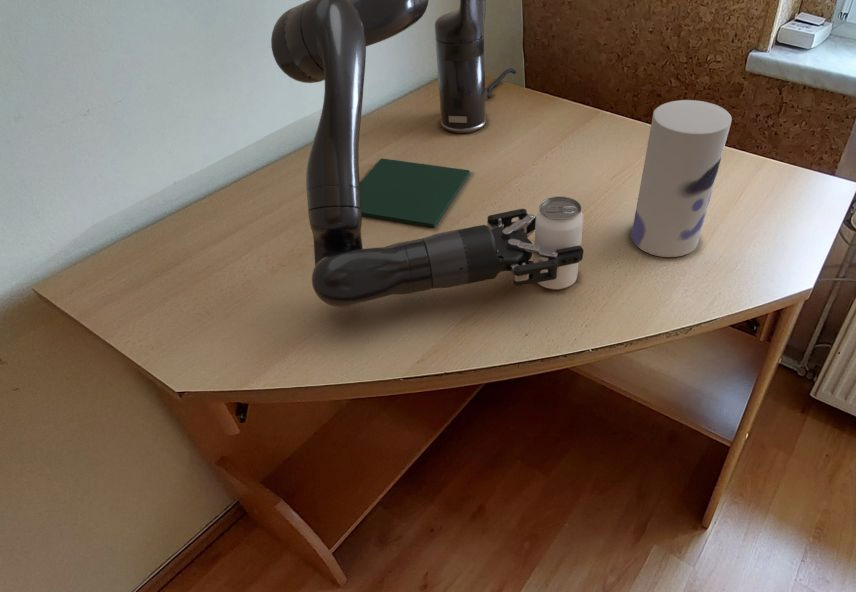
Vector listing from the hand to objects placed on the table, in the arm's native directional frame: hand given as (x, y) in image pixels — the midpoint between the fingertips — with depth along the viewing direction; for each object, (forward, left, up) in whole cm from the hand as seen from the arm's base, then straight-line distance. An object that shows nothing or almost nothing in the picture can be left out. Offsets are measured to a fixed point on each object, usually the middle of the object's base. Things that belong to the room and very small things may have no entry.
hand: (570, 235), depth 87 cm
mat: (-15, -33, -7) cm, 37 cm away
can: (+1, -2, -7) cm, 7 cm away
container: (-13, +12, -7) cm, 19 cm away
